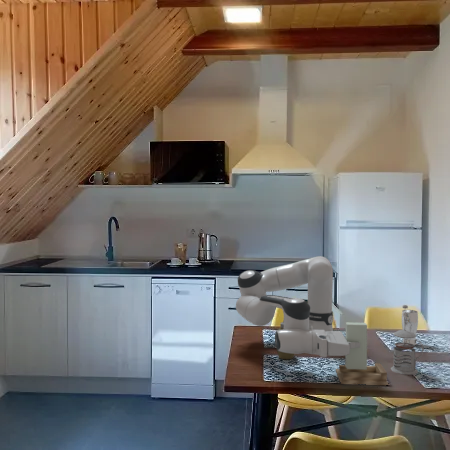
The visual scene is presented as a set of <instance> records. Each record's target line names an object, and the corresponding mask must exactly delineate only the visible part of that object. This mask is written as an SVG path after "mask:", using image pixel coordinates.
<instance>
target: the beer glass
mask: <svg viewBox="0 0 450 450" xmlns="http://www.w3.org/2000/svg"><path fill="white" fill-rule="evenodd" d="M401 311H402V312H401V328H402V330H404V328H405V330H407V331H410V332H412V333H414V334H415V335H416V337H415V338H405V343H409V344H413V345H414V346H417V345H418V344H417V343H418V342H416V343H415V340H416V339H417V332H418V331H417V330H418V325H419V315H418V314H419V313H418V311H417V310H414V309H402V310H401ZM401 342H402V343H404V338H402V341H401Z"/></svg>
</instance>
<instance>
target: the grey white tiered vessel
mask: <svg viewBox="0 0 450 450" xmlns="http://www.w3.org/2000/svg"><path fill="white" fill-rule="evenodd" d="M408 308H409V307H408V305H407V304H403V305H402V309H408ZM393 336H394V337H396V338H400V339H403V338H404V343H402V342H403V341H399V342H395V343H394V347H393V366H392V367H390V370H391V372H393V373H396V374H401V375H409V376H410V375H416V374H418V373H419V371H418V369H417V368H416V366H417V365H416V364H417V361H416V360H419V359H420V358H422V356H423V354H424V350H425V349H424V345H423V343H422V342H421V340H419V339H418V338H417V334H416V335H415V334H414V333H412V332H410V331H407V330H405V328H404V330H403V329H398V330H397V331H395V332H393ZM415 337H416V340H415V343H419V344H420V346H421V349H422V350H421V355H419V356H417V357H416V349H415V346H416V345H415V346H414V345H413V344H409V343H405V338H415Z"/></svg>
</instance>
